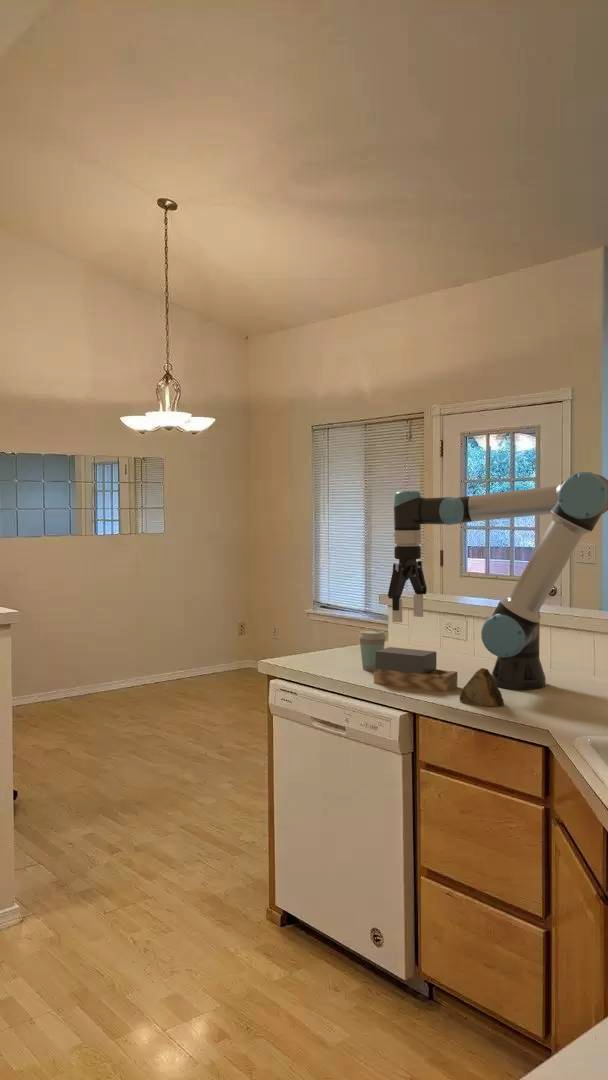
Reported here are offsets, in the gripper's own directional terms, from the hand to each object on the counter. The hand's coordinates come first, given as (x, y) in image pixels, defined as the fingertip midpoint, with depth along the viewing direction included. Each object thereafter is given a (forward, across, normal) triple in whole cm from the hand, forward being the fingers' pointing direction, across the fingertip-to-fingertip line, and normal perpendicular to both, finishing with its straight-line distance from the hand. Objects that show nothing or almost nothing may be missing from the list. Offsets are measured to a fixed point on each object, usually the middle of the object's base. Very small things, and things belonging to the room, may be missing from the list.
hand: (408, 619), depth 245 cm
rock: (+19, +12, +26) cm, 35 cm away
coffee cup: (+19, -14, -19) cm, 30 cm away
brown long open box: (+19, 0, +2) cm, 19 cm away
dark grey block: (+18, 0, -1) cm, 18 cm away
